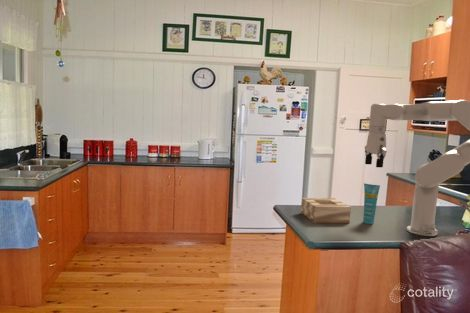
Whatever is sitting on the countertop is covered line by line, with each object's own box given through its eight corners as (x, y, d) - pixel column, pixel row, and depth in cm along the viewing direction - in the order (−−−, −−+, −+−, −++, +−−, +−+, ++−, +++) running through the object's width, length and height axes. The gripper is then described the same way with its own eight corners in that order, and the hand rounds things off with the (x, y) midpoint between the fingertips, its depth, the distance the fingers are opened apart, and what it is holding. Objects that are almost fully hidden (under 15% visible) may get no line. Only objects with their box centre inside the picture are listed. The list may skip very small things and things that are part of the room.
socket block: (349, 223, 183) (350, 206, 182) (314, 223, 180) (315, 206, 179) (333, 213, 201) (334, 198, 200) (300, 213, 197) (302, 198, 196)
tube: (359, 222, 185) (363, 183, 183) (361, 220, 189) (365, 182, 187) (375, 225, 181) (379, 186, 179) (377, 223, 185) (380, 184, 183)
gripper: (395, 131, 172) (391, 168, 174) (374, 129, 189) (371, 163, 191) (380, 130, 171) (376, 168, 173) (360, 128, 188) (357, 162, 190)
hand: (373, 165), depth 182 cm, fingers open, 9 cm apart
